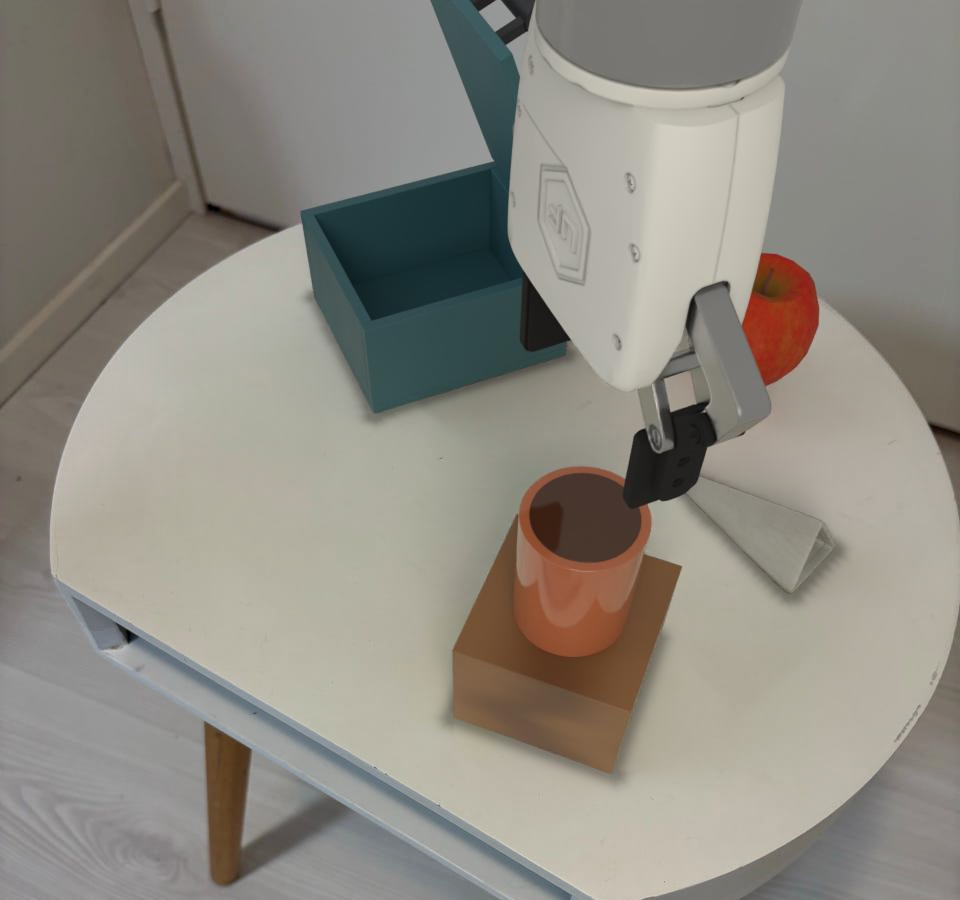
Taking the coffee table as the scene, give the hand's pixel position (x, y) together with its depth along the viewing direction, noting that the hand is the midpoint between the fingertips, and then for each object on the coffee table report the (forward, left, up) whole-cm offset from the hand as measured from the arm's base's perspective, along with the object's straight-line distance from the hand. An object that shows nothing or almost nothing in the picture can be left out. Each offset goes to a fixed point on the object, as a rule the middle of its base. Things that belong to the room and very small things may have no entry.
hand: (603, 412), depth 43 cm
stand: (0, -1, -22) cm, 22 cm away
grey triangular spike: (+7, +14, -23) cm, 28 cm away
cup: (0, -1, -14) cm, 14 cm away
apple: (+4, +27, -23) cm, 36 cm away
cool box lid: (-16, +28, -7) cm, 33 cm away
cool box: (-19, +25, -22) cm, 39 cm away
